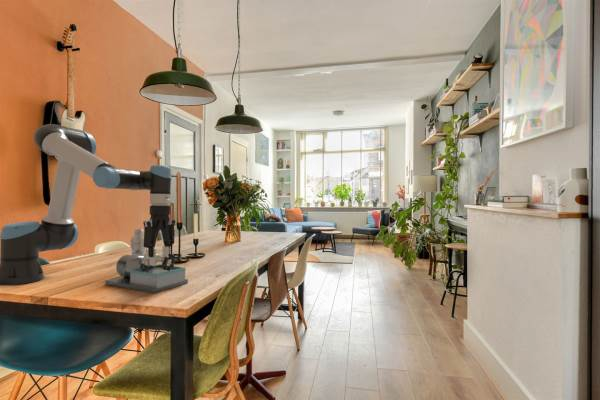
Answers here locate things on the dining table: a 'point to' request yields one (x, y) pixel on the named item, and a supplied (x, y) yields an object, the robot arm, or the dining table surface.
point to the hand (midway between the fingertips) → (159, 264)
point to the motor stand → (146, 275)
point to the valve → (161, 260)
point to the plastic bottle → (138, 243)
